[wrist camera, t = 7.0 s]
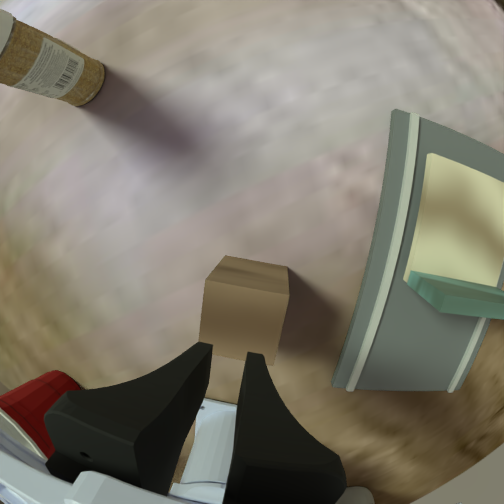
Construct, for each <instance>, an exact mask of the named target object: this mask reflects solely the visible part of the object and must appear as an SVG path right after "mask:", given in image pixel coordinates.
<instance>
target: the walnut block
mask: <svg viewBox="0 0 504 504" xmlns="http://www.w3.org/2000/svg"><path fill="white" fill-rule="evenodd" d="M289 296H290V294H289V282H288V270H287V267H286V266H281V265H275V264H270V263H264V262H259V261H253V260H248V259H242V258H237V257H231V256H226V255H225V256H224V258H223V259H222V260H221V261H220V262H219V264H218V265H217V266H216V267H215V269H214V270H213V271H212V272H211V273H210V275H209V276H208V277H207V278H206V280H205V287H204V295H203V304H202V313H201V322H200V332H199V342H204V343H208V344H213V351H212V354H213V355H218V356H223V357H228V358H233V359H238V360H243V361H246V356H247V352H254V353H259V354H263V355H264V357H265V362H266V365H271V366H273V365H274V361H275V357H276V353H277V349H278V345H279V340H280V336H281V332H282V327H283V323H284V319H285V314H286V310H287V305H288V300H289Z"/></svg>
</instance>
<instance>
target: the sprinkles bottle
mask: <svg viewBox="0 0 504 504" xmlns="http://www.w3.org/2000/svg"><path fill="white" fill-rule="evenodd" d="M103 81H104V67H103V65H102V64H101V63H100V62H99V61H98V60H95V59H92V58H90V57H88V56H86V55H85V54H83V53H81V52H80V51H79V50H78V49H76V48H74V47H72V46H71V45H69V44H67V43H65V42H63V41H61V40H60V39H58V38H53V37H52V36H50V35H48V34H46V33H44V32H42V31H40V30H38V29H36V28H34V27H31V26H29V25H27V24H25V23H23V22H20V21H18V20H16V18H15V17H13V16H12V14H11V13H9V12H6V11H4V10H2V9H0V83H2V84H6V85H7V86H10V87H14V88H18V89H22V90H25V91H29V92H33V93H36V94H40V95H43V96H46V97H50V98H56V99H59V100H62V101H66V102H68V103H69V104H71V105H74V106H80V105H83V104H86V103H87V102H89V101H90V100H91V99H93V98H94V97H95V95H96V94H97V93H98V91H99V90H100V88H101V86H102V83H103Z"/></svg>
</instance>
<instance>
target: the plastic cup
mask: <svg viewBox="0 0 504 504" xmlns="http://www.w3.org/2000/svg"><path fill="white" fill-rule="evenodd" d="M73 390H81V389H80V388H79V386H78V385H77V384H76V383H75V382H74V380H73V379H72V378H71V377H69V376H68V375H66V374H65V373H63V372H61V371H58V370H55V371H51V372H47V373H45V374H43V375H42V376H40V377H38V378H36V379H34V380H31V381H29V382H27V383H25V384H23V385H21V386H19V387H17V388H15V389H13V390H11V391H9V392H7V393H5V394H4V395H2V396H0V428H1V429H2V430H3V431H5V432H6V433H7V434H9V435H10V436H11V437H13V438H14V439H15V440H17V441H18V442H20V443H21V444H22V445H24V446H25V447H27V448H28V449H30V450H31V451H33V452H34V453H36V454H37V455H39V456H40V457H42V458H44V459H45V460H47V461H48V459H49V458H50V457H51V455H52V454H53V453H54V452H55V448H54V446H53V443H52V441H51V439H50V437H49V434H48V432H47V430H46V426H45V423H44V414H45V413H46V412H47V411H48V410H49V409H50V408H51V406H52V405H53V404H54V403H55V402H56V401H57V400H58V399H59V398H60V397H61V396H62V395H63V394H64V393H65V392H66V391H73Z"/></svg>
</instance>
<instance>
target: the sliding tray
mask: <svg viewBox="0 0 504 504" xmlns="http://www.w3.org/2000/svg"><path fill="white" fill-rule="evenodd" d="M503 259H504V182H501V181H499V180H497V179H495V178H493V177H491V176H488V175H486V174H484V173H482V172H479V171H477V170H475V169H472V168H470V167H468V166H465V165H463V164H460V163H458V162H455V161H453V160H450V159H447V158H445V157H442V156H439V155H437V154H434V153H429V154H427V158H426V167H425V174H424V182H423V188H422V195H421V201H420V206H419V212H418V217H417V222H416V227H415V232H414V237H413V241H412V246H411V250H410V254H409V258H408V262H407V266H406V270H405V274H404V278H403V280H404V281H405V282H407V285H408V286H409V287H411V288H412V289H413V290H414V291H415V292H417V293H418V294H419V295H420V296H421V297H423V298H424V299H425V300H426V301H427V302H429V303H430V304H431V305H432V306H433V307H434V308H436V309H437V310H438V311H439V312H442V313H450V314H459V315H467V316H476V317H484V318H494V319H503V320H504V291H502V290H501V289H499V288H497V287H496V285H497V282H498V278H499V274H500V271H501V267H502V263H503Z"/></svg>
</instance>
